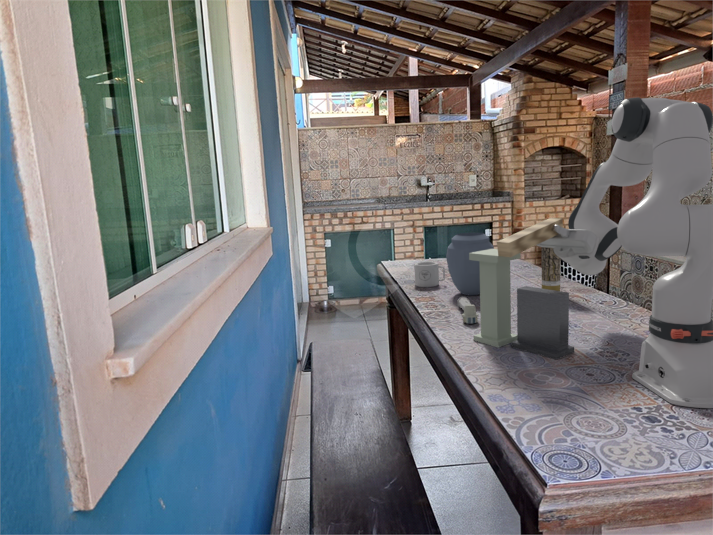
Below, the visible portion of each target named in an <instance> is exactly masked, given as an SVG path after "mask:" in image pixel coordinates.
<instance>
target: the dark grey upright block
mask: <svg viewBox="0 0 713 535" xmlns="http://www.w3.org/2000/svg"><path fill="white" fill-rule="evenodd" d="M569 304H570V292H569V291H568V292H567V291H561V290H560V291H555V290H548V289H542V287H535V286H528V285H525V286H522V287H519V288H518V287H517V288H516V306H517V307H516V319H517V320H516V322H517V323H516V326H517V327H516V328H517V330H516V332H517V334H516V335H517V340H516V341H513V342H511V343H510V344H511V348H512V349H517V350H520V351H522V352H523V351H524V352H526V353H531V354H535V355H537V356H542V357H546V358H548V359H553V360H559V359H562V358H564V357H566V356H568V355H569V356H570V355H572V354H573V353H575V346H573V345H569V324H570V320H569V319H570V318H569V317H570V316H569V315H570V309H569V306H570V305H569Z"/></svg>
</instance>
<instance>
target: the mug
mask: <svg viewBox="0 0 713 535" xmlns="http://www.w3.org/2000/svg"><path fill="white" fill-rule="evenodd" d="M413 266H414V267H413V268H414V286H416V287H419V288H433V287H437V286H439V285H440V282H443V281H445V279H446V269H445V266H442V265H439V262H436V261H427V260H426V261H418V262H415V263H414V265H413ZM439 268H441V269H442V276H443V278H442V279H441V278H440V276H439V275H440V274H439V270H440V269H439Z"/></svg>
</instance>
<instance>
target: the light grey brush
mask: <svg viewBox="0 0 713 535" xmlns="http://www.w3.org/2000/svg"><path fill="white" fill-rule="evenodd" d="M456 302H457V307H459V308H460V309H461V308H462V309H461V310H463V313H461V317H462V323H465V324H469V325H470V324H477V323H478V322H479V320H478V317H479V314H480V313H478V312H477V309H476V305H475V304H472V303H471V301H470V299H469V298H468V297H466V296H460V297H459V298H458V299H457V300H456Z"/></svg>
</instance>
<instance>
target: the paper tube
mask: <svg viewBox="0 0 713 535" xmlns="http://www.w3.org/2000/svg"><path fill="white" fill-rule="evenodd" d="M561 261H562V259H561V258H559V257H558V256H557V255H556V254H555V253H554V250H553V248H548V247H541V288H542V289H548V290H555V291H561Z"/></svg>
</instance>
